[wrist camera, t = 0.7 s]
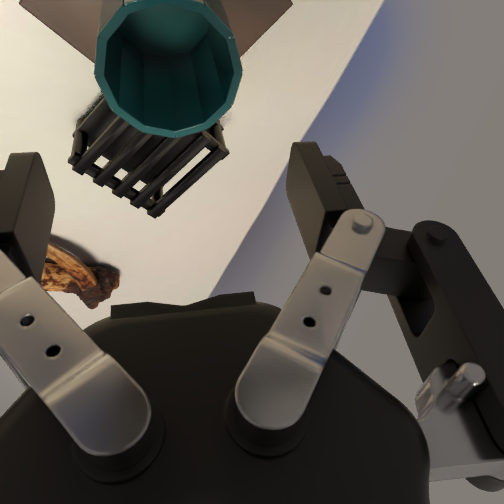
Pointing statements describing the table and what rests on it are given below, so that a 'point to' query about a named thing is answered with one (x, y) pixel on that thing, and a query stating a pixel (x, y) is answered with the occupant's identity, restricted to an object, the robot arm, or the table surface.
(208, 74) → the cup
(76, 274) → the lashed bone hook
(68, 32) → the shelf
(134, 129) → the rack
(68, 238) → the table surface
